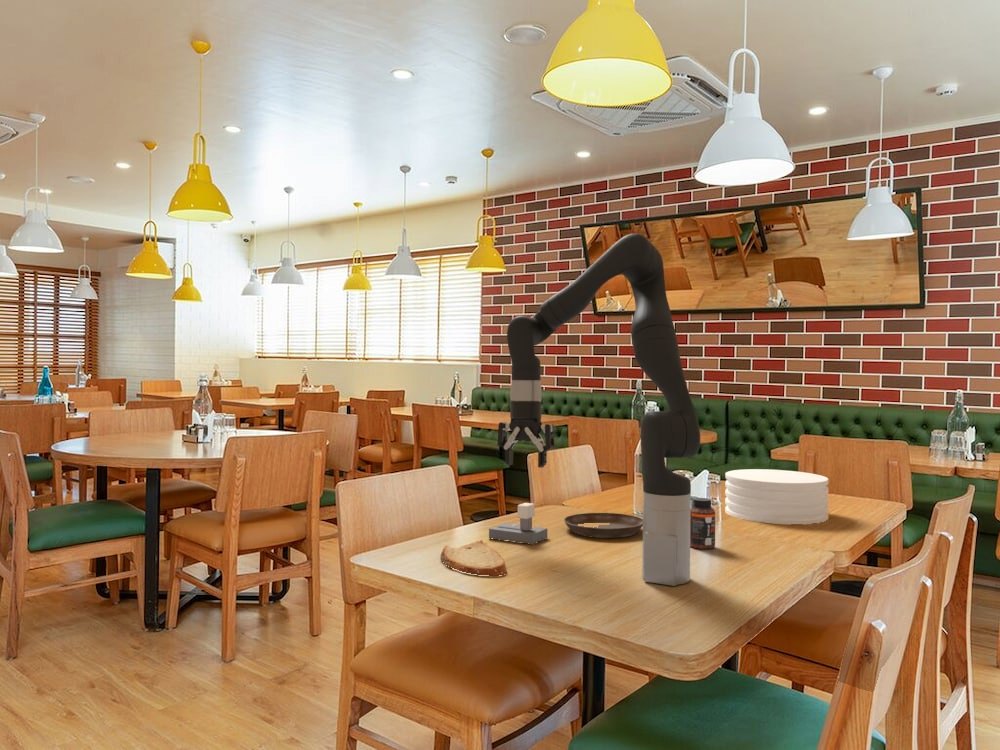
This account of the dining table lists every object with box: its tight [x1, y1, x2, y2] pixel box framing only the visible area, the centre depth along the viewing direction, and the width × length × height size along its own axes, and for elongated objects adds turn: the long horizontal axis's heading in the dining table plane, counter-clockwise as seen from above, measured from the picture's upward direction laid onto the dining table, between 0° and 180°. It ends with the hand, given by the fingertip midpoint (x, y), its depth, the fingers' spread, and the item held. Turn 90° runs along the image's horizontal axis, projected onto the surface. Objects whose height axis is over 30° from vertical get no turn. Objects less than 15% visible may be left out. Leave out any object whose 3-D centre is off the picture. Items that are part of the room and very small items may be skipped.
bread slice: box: [440, 539, 508, 576], centre depth 151 cm, size 18×18×4 cm
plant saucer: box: [563, 512, 643, 539], centre depth 183 cm, size 21×21×3 cm
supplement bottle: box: [690, 497, 716, 550], centre depth 166 cm, size 6×6×11 cm
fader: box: [517, 502, 536, 531], centre depth 171 cm, size 4×3×6 cm, turn 151°
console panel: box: [488, 522, 548, 545], centre depth 173 cm, size 8×12×3 cm, turn 61°
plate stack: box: [724, 468, 830, 525], centre depth 206 cm, size 28×28×12 cm
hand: (525, 466), depth 171 cm, fingers open, 8 cm apart
